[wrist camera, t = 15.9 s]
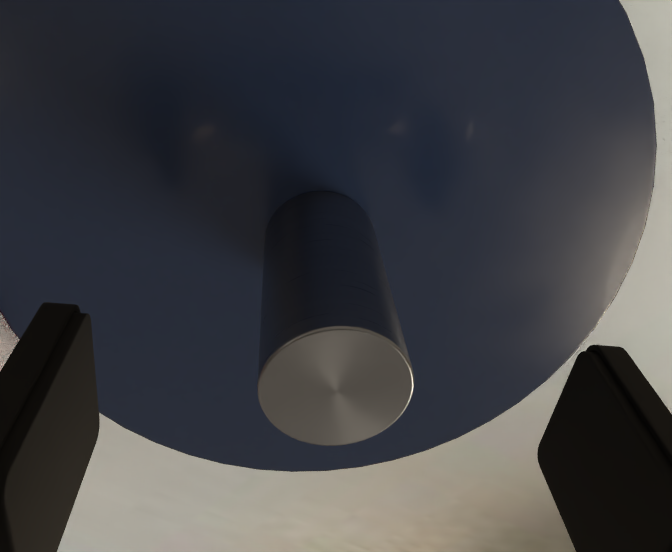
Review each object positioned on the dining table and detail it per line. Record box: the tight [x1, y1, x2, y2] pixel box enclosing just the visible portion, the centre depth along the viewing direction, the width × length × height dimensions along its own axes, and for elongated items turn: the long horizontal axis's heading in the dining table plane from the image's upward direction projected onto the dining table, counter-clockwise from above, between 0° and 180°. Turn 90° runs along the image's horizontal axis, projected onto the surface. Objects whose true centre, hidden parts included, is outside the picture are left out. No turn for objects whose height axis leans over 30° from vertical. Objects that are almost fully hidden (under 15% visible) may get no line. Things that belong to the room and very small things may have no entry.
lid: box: [0, 0, 657, 472], centre depth 15 cm, size 18×18×7 cm
